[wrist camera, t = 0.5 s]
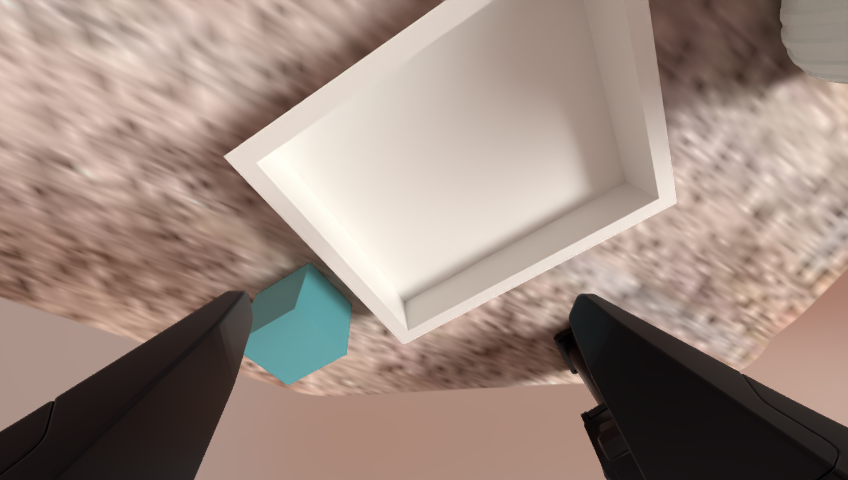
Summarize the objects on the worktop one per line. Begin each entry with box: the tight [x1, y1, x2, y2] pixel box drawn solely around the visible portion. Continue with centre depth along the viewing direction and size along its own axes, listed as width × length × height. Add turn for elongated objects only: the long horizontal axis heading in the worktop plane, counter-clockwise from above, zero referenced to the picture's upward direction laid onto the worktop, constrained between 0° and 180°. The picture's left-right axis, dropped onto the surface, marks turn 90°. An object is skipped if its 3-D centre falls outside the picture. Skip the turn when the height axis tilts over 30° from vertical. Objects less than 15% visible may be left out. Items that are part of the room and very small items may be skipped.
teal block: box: [244, 263, 352, 385], centre depth 22 cm, size 5×5×5 cm
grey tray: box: [223, 0, 677, 345], centre depth 19 cm, size 16×20×4 cm
